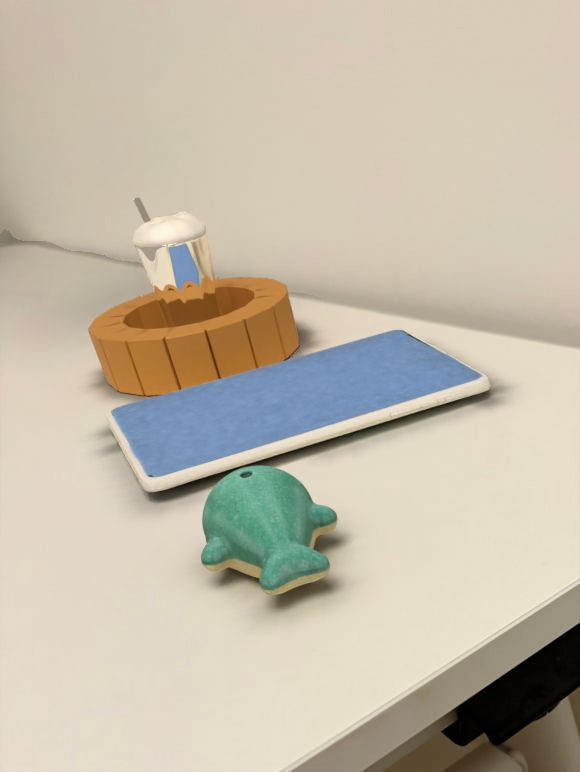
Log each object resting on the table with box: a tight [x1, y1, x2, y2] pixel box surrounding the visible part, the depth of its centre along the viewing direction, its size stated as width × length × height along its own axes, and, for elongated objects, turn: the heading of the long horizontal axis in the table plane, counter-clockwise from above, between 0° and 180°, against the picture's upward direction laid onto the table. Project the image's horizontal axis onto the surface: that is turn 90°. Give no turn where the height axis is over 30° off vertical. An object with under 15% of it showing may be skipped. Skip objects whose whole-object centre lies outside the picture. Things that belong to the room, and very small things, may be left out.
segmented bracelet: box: [87, 276, 301, 397], centre depth 62 cm, size 13×13×4 cm
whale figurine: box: [200, 465, 338, 596], centre depth 37 cm, size 6×7×4 cm
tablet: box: [106, 329, 492, 493], centre depth 52 cm, size 19×13×1 cm, turn 118°
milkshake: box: [132, 197, 223, 328], centre depth 60 cm, size 4×5×10 cm
